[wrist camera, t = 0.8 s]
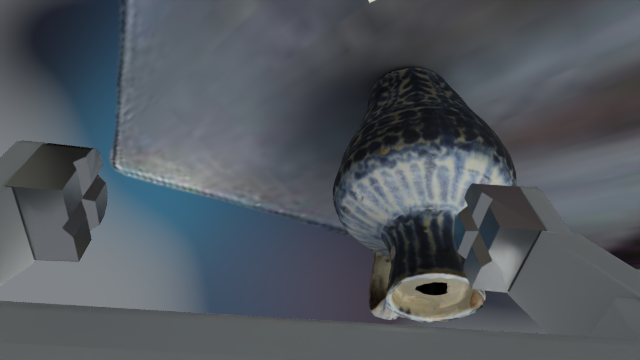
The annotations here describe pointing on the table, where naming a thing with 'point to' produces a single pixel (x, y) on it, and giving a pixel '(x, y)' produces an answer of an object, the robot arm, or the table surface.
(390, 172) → the jug
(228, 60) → the table surface
